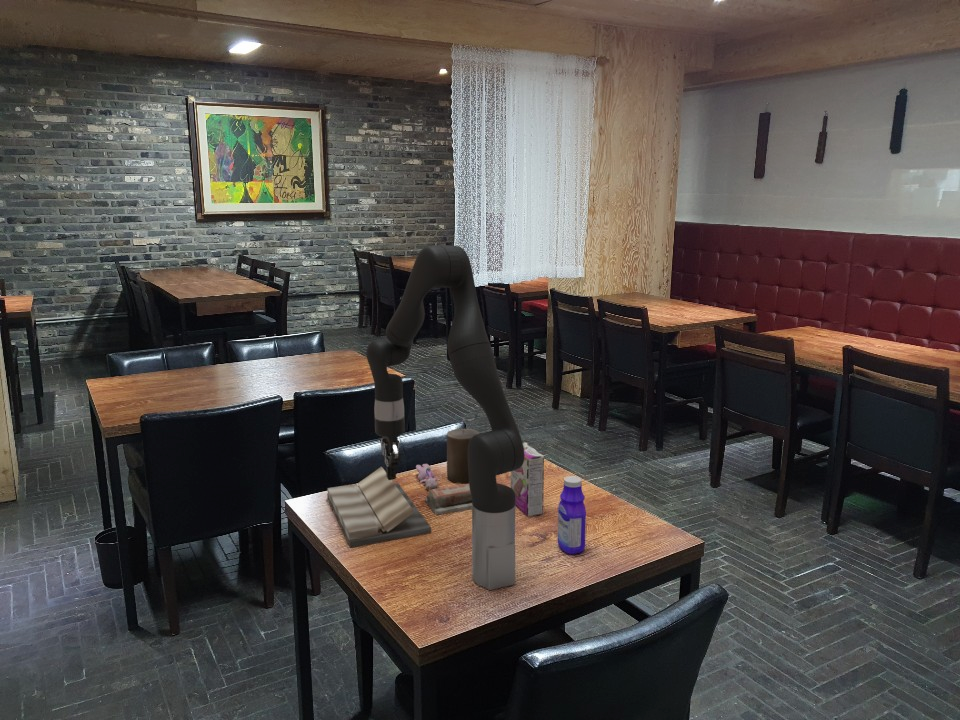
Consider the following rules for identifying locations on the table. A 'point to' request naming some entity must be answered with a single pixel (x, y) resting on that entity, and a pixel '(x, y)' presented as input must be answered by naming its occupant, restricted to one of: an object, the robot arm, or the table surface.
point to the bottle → (572, 516)
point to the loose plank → (385, 499)
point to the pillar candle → (458, 454)
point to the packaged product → (450, 499)
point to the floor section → (370, 518)
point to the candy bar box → (529, 482)
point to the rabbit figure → (427, 477)
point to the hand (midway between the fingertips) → (391, 478)
